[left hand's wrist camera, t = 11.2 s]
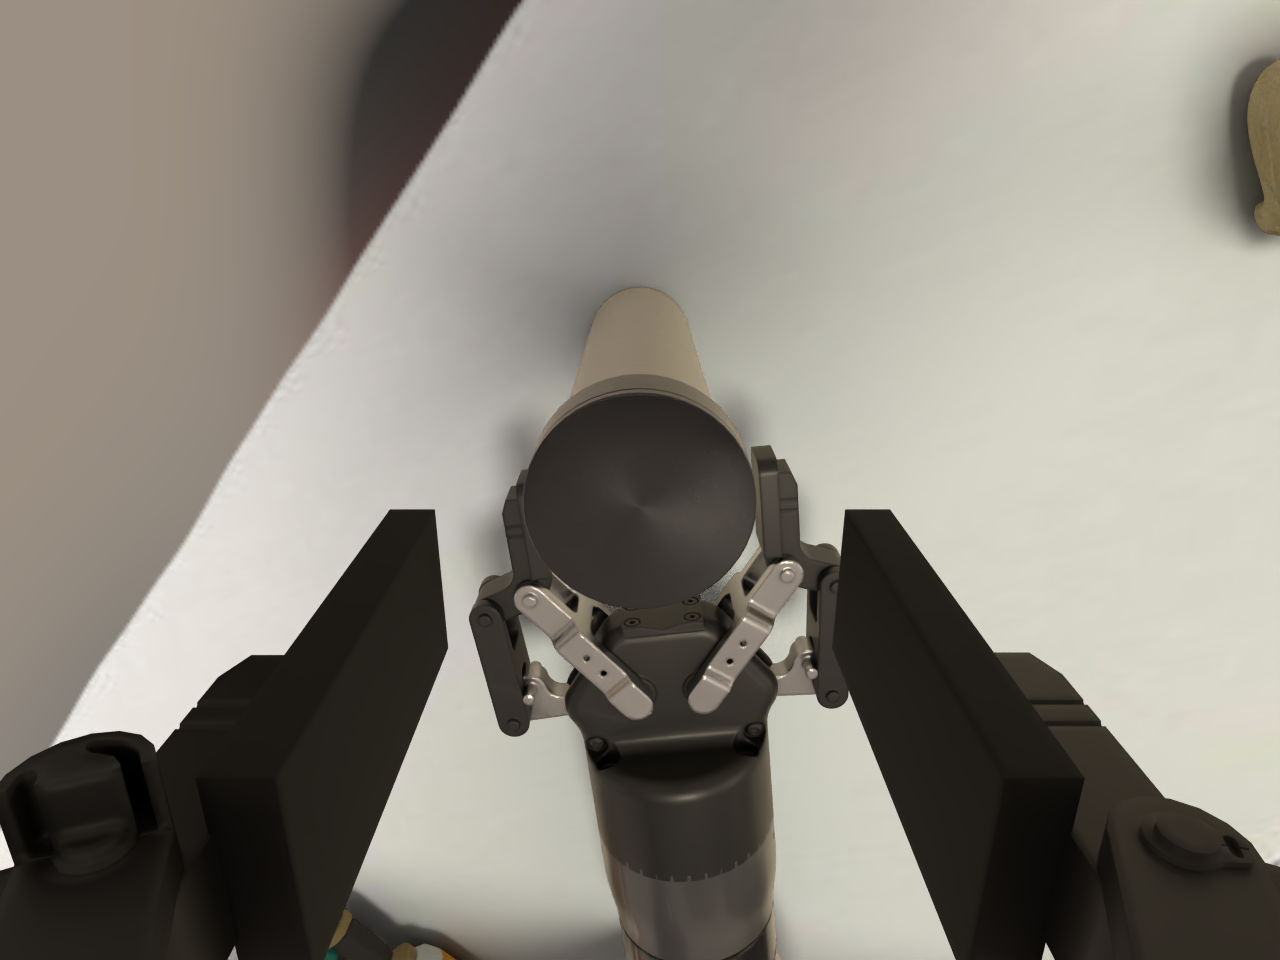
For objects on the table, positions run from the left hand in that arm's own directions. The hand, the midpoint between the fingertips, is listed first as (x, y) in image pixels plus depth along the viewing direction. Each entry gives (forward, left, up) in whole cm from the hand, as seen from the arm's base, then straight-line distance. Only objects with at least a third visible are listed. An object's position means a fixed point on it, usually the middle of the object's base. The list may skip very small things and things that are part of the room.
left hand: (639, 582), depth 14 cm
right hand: (+3, +2, -15) cm, 16 cm away
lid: (0, 0, -4) cm, 4 cm away
